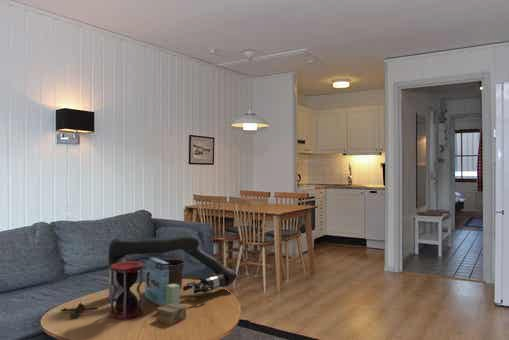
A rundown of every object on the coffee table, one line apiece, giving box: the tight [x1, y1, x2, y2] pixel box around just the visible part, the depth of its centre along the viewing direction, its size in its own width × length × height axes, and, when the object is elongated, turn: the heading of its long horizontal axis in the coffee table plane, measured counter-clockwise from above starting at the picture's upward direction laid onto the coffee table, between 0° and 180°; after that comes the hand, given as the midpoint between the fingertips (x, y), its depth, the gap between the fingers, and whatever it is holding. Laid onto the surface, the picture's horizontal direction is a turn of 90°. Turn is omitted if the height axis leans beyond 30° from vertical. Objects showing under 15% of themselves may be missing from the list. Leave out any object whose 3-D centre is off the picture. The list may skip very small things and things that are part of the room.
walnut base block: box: [156, 303, 187, 325], centre depth 203 cm, size 10×10×6 cm
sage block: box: [166, 284, 181, 305], centre depth 219 cm, size 5×5×12 cm
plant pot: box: [161, 258, 186, 289], centre depth 255 cm, size 16×16×16 cm
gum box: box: [144, 256, 169, 307], centre depth 230 cm, size 20×5×23 cm, turn 39°
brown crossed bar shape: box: [60, 302, 99, 320], centre depth 210 cm, size 18×4×14 cm
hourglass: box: [109, 261, 144, 320], centre depth 210 cm, size 16×16×25 cm
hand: (188, 290), depth 228 cm, fingers open, 8 cm apart
